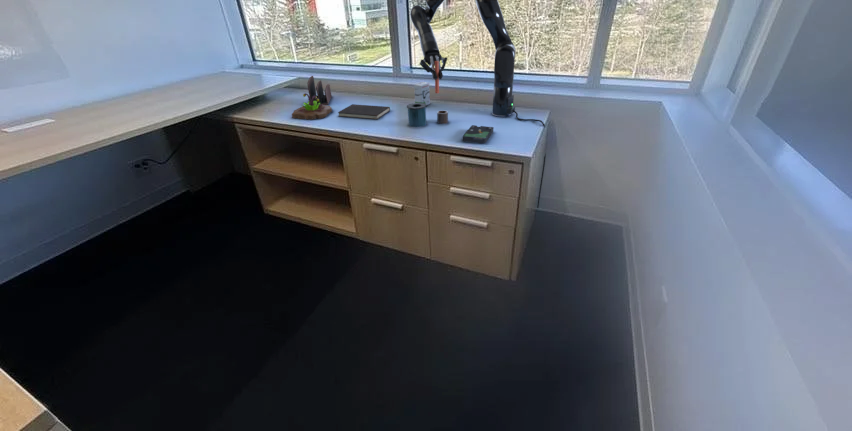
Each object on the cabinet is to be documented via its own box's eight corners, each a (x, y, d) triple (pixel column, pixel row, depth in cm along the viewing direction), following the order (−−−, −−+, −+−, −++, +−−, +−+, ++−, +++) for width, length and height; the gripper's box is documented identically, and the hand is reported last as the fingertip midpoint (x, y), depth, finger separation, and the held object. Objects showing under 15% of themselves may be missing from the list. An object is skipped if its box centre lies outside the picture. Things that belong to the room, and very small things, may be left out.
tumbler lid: (430, 105, 180) (430, 104, 180) (418, 110, 174) (418, 109, 173) (415, 102, 185) (414, 101, 184) (403, 107, 178) (402, 106, 178)
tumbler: (429, 123, 185) (429, 105, 180) (419, 129, 179) (418, 110, 174) (416, 121, 189) (415, 103, 184) (405, 126, 183) (403, 107, 178)
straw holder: (450, 122, 185) (450, 111, 182) (444, 125, 182) (443, 114, 179) (441, 120, 188) (441, 109, 185) (435, 123, 184) (435, 112, 182)
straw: (439, 92, 177) (439, 61, 170) (437, 93, 176) (437, 61, 168) (436, 92, 178) (436, 60, 171) (434, 93, 177) (433, 61, 169)
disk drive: (471, 130, 174) (462, 141, 163) (471, 124, 173) (462, 135, 161) (493, 132, 171) (485, 144, 159) (493, 126, 169) (486, 137, 158)
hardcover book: (377, 119, 193) (376, 115, 192) (338, 116, 201) (337, 112, 199) (390, 110, 206) (389, 106, 205) (353, 108, 213) (352, 103, 212)
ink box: (422, 107, 208) (421, 85, 202) (414, 106, 211) (413, 84, 204) (430, 103, 214) (429, 82, 208) (423, 102, 217) (422, 81, 210)
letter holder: (311, 106, 219) (306, 81, 212) (315, 97, 236) (311, 74, 229) (328, 105, 220) (324, 80, 213) (331, 96, 237) (327, 73, 229)
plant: (304, 108, 216) (300, 88, 211) (336, 109, 213) (333, 88, 207) (287, 119, 200) (282, 98, 194) (321, 120, 196) (317, 98, 190)
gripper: (416, 41, 170) (425, 75, 166) (445, 39, 173) (454, 72, 170) (413, 52, 177) (422, 85, 174) (441, 49, 180) (450, 81, 177)
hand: (438, 78), depth 172 cm, fingers closed on straw, 2 cm apart
